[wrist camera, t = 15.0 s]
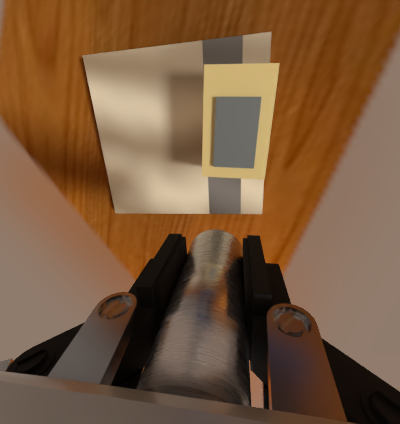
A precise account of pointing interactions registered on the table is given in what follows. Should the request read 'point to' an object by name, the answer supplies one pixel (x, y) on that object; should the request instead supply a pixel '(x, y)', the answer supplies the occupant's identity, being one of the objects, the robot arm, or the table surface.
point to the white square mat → (167, 126)
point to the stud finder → (237, 119)
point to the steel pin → (204, 327)
